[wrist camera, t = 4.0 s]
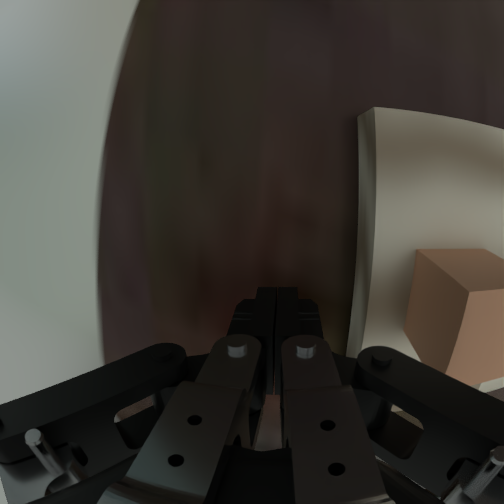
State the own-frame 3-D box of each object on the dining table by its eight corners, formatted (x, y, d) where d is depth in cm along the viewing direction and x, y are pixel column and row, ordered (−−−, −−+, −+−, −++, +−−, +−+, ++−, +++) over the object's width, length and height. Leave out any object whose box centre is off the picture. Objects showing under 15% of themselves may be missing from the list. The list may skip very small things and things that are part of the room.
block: (416, 249, 11) (469, 292, 7) (484, 248, 11) (543, 284, 7) (403, 330, 13) (437, 392, 8) (468, 323, 12) (511, 374, 8)
